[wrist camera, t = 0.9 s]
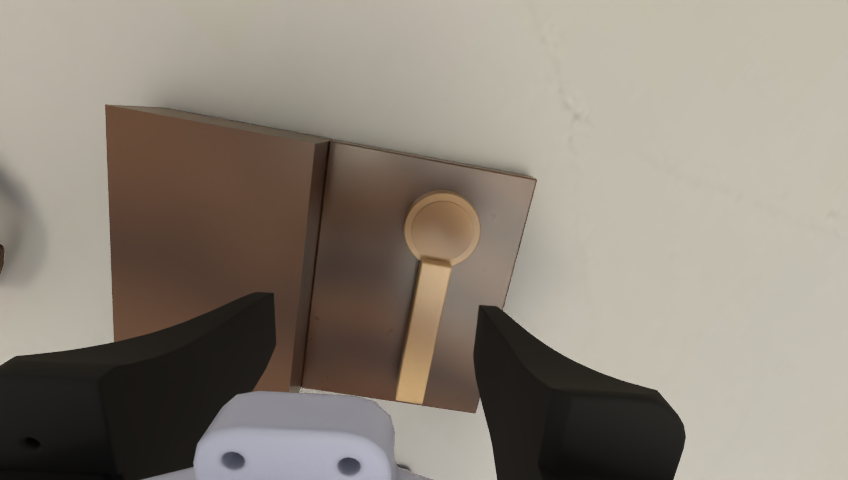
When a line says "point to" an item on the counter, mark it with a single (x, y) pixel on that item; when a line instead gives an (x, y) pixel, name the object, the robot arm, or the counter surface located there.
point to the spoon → (432, 278)
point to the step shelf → (299, 246)
